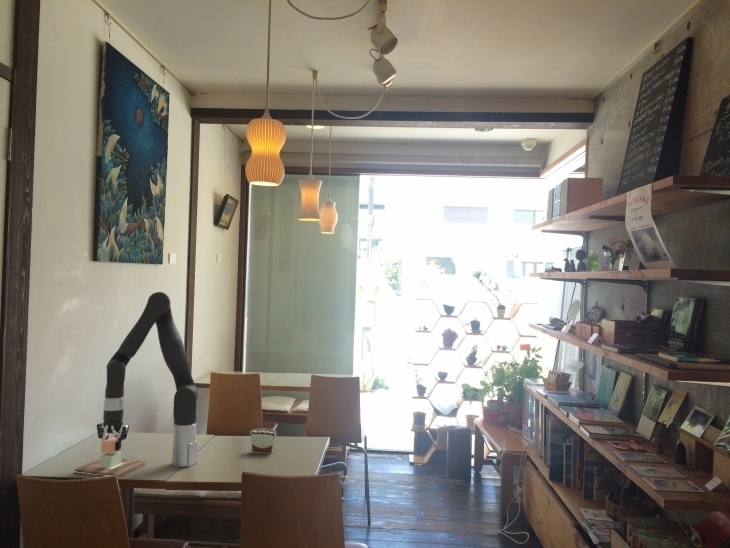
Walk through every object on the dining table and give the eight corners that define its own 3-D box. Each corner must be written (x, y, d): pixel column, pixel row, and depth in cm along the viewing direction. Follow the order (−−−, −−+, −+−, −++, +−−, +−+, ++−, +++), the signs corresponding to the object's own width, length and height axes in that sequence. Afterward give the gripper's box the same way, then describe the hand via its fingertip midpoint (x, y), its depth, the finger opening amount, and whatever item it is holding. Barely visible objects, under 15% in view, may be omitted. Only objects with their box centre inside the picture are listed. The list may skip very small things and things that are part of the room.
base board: (144, 465, 223) (145, 461, 223) (118, 478, 206) (118, 474, 207) (103, 460, 227) (103, 456, 227) (74, 473, 211) (74, 469, 211)
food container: (278, 450, 251) (279, 428, 251) (274, 454, 245) (275, 432, 245) (253, 448, 252) (253, 427, 253) (249, 452, 246) (249, 430, 246)
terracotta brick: (121, 449, 219) (122, 438, 220) (110, 453, 214) (111, 442, 214) (112, 448, 221) (112, 437, 221) (101, 452, 215) (101, 441, 215)
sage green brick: (120, 463, 219) (121, 452, 219) (110, 468, 213) (111, 456, 214) (110, 462, 220) (111, 451, 221) (100, 466, 215) (100, 455, 215)
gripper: (134, 407, 220) (132, 448, 219) (105, 404, 223) (102, 445, 222) (123, 411, 213) (120, 454, 212) (92, 408, 216) (89, 450, 215)
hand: (111, 449), depth 217 cm, fingers closed on terracotta brick, 5 cm apart
